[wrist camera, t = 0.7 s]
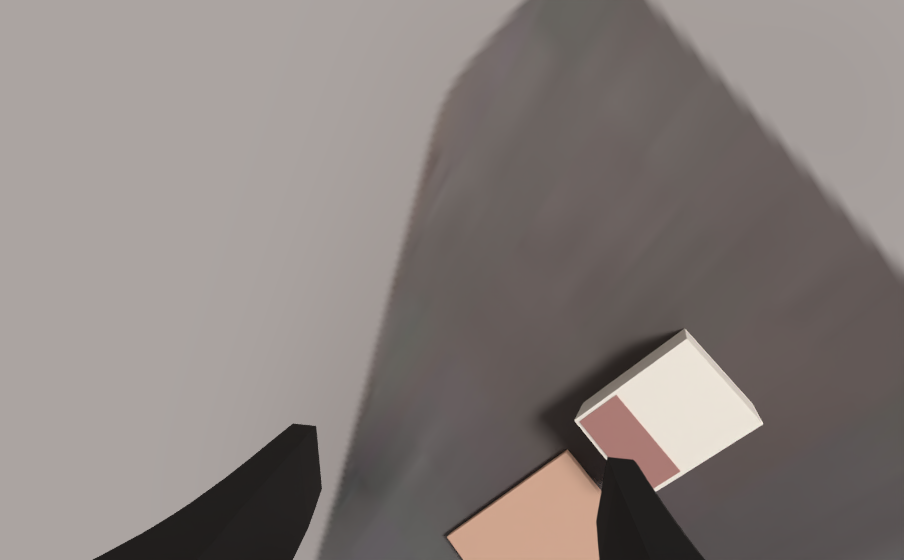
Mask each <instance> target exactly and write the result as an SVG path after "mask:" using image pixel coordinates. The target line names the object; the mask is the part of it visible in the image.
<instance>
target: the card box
mask: <svg viewBox="0 0 904 560" xmlns="http://www.w3.org/2000/svg"><path fill="white" fill-rule="evenodd" d="M574 421H575V422H576V423H577V425H578V426H579V427H580V428H581V430H582V431H583V432H584V433H585V434H586V436H587V437H588V438H589V439H590V441H591V442H592V443H593V444H594V446H595V447H596V448H597V449H598V450H599V452H600V453H601V454H602V455H603V457H604V458H605V459H606V460H607V457H614V458H623V459H633V460H634V461H635V462H636V463H637V464H638V466H639V467H640V469H641V470H642V472H643V474H644V475H645V477H646V478H647V480H648V481H649V483H650V484H651V486H652V487H653V489H654V491H655V492H656V491H658V490H659V489H661V488H662V487H664V486H666V485H667V484H669V483H670V482H672V481H674V480H675V479H677V478H678V477H680V476H682V475H683V474H685V473H686V472H688V471H690V470H691V469H693V468H694V467H696V466H697V465H699V464H701V463H702V462H704V461H705V460H707V459H709V458H710V457H712V456H713V455H715V454H717V453H718V452H720V451H721V450H723V449H725V448H726V447H728V446H729V445H731V444H733V443H734V442H736V441H737V440H739V439H740V438H742V437H744V436H745V435H747V434H748V433H750V432H752V431H753V430H755V429H756V428H758V427H760V426H761V425H763V422H762V420H761V419H760V417H759V415H758V413H757V411H756V409H755V407H754V405H753V404H752V403H751V401H750V400H749V399H748V398H747V397H746V396H745V395H744V394H743V393H742V391H741V390H740V389H739V388H738V387H737V386H736V385H735V384H734V383H733V381H732V380H731V379H730V378H729V377H728V376H727V375H726V374H725V373H724V371H723V370H722V369H721V368H720V367H719V366H718V365H717V364H716V362H715V361H714V360H713V359H712V358H711V357H710V356H709V355H708V354H707V352H706V351H705V350H704V349H703V348H702V347H701V346H700V345H699V344H698V342H697V341H696V340H695V339H694V338H693V337H692V336H691V335H690V334H689V332H688V331H687V330H686V329H685V328H684V329H683V330H682V331H680V332H679V333H677V334H676V335H675V336H673V337H672V338H671V339H669V340H668V341H667V342H665V343H664V344H662V345H661V346H660V347H658V348H657V349H656V350H654V351H653V352H652V353H650V354H649V355H648V356H646V357H645V358H643V359H642V360H641V361H639V362H638V363H637V364H635V365H634V366H633V367H631V368H630V369H628V370H627V371H626V372H624V373H623V374H622V375H620V376H619V377H618V378H616V379H615V380H613V381H612V382H611V383H609V384H608V385H607V386H605V387H604V388H603V389H601V390H600V391H598V392H597V393H596V394H594V395H593V396H592V397H590V398H589V399H588V400H586V401H585V402H583V404H582V406H581V408H580V410H579V412H578V414H577V416H576V418H575V420H574Z"/></svg>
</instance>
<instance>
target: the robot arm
mask: <svg viewBox="0 0 904 560" xmlns="http://www.w3.org/2000/svg"><path fill="white" fill-rule="evenodd" d="M321 489H322V486H321V475H320V464H319V454H318V442H317V432H316V426H310V425H301V424H292V425H291V426H289V427H288V428H287V429H286V430H285V431H283V432H282V433H281V434H279V435H278V436H277V437H276V438H275V439H273V440H272V441H271V442H270V443H268V444H267V445H266V446H265V447H264V448H262V449H261V450H260V451H259V452H257V453H256V454H255V455H254V456H253V457H251V458H250V459H249V460H248V461H246V462H245V463H244V464H242V465H241V466H240V467H239V468H237V469H236V470H235V471H234V472H232V473H231V474H230V475H229V476H227V477H226V478H225V479H223V480H222V481H220V482H219V483H218V484H216V485H215V486H214V487H212V488H211V489H209V490H208V491H207V492H205V493H204V494H202V495H201V496H200V497H198V498H197V499H196V500H194V501H193V502H191V503H190V504H188V505H187V506H185V507H184V508H182V509H181V510H179V511H178V512H176V513H175V514H174V515H172V516H170V517H168V518H167V519H165V520H163V521H162V522H160V523H159V524H157V525H155V526H154V527H152V528H151V529H149V530H147V531H145V532H144V533H142V534H140V535H138V536H136V537H134V538H133V539H131V540H129V541H127V542H125V543H123V544H121V545H120V546H118V547H116V548H114V549H112V550H110V551H109V552H107V553H105V554H103V555H101V556H99V557H97V558H95V559H93V560H293V558H294V556H295V554H296V552H297V550H298V548H299V546H300V543H301V541H302V539H303V537H304V535H305V533H306V531H307V529H308V527H309V524H310V521H311V518H312V515H313V513H314V510H315V507H316V504H317V501H318V498H319V495H320V492H321ZM596 526H597V539H598V551H599V560H705V559H704V558H703V557H702V555H701V554H700V553H699V552H698V550H697V549H696V548H695V546H694V545H693V544H692V543H691V541H690V540H689V539H688V537H687V536H686V535H685V533H684V532H683V530H682V529H681V528H680V526H679V525H678V524H677V522H676V521H675V520H674V518H673V517H672V515H671V514H670V513H669V511H668V510H667V508H666V507H665V505H664V504H663V502H662V501H661V499H660V498H659V497H658V495H657V494H656V492H655V491H654V489H653V487H652V486H651V484H650V483H649V481H648V480H647V478H646V477H645V475H644V474H643V472H642V470H641V469H640V467H639V466H638V464H637V463H636V462H635V461H634V460H633V459H623V458H614V457H607V462H606V467H605V473H604V479H603V485H602V490H601V496H600V502H599V507H598V513H597V519H596Z"/></svg>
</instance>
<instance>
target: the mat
mask: <svg viewBox="0 0 904 560" xmlns="http://www.w3.org/2000/svg"><path fill="white" fill-rule="evenodd" d="M600 496H601V490H600V489H599V488H598V486H597V485H596V484H595V483H594V481H593V480H592V479H591V478H590V476H589V475H588V474H587V473H586V471H585V470H584V469H583V468H582V466H581V465H580V464H579V463H578V461H577V460H576V459H575V458H574V457H573V455H572V454H571V453H570V452H569V450H568V449H567V450H566V451H564V452H563V453H561V454H560V455H559V456H557V457H556V458H554V459H553V460H552V461H550V462H549V463H547V464H546V465H545V466H543V467H542V468H540V469H539V470H538V471H536V472H535V473H533V474H532V475H531V476H529V477H528V478H526V479H525V480H524V481H522V482H521V483H519V484H518V485H517V486H515V487H514V488H512V489H511V490H510V491H508V492H507V493H505V494H504V495H503V496H501V497H500V498H498V499H497V500H496V501H494V502H493V503H491V504H490V505H489V506H487V507H486V508H484V509H483V510H482V511H480V512H479V513H477V514H476V515H475V516H473V517H472V518H470V519H469V520H468V521H466V522H465V523H463V524H462V525H461V526H459V527H458V528H456V529H455V530H454V531H452V532H451V533H450V534H449V535H448V536H447V538H448V539H449V541H450V542H451V544H452V545H453V546H454V548H455V549H456V550H457V552H458V553H459V555H460V556H461V557H462V559H463V560H599V551H598V539H597V526H596V519H597V513H598V507H599V502H600Z"/></svg>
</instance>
